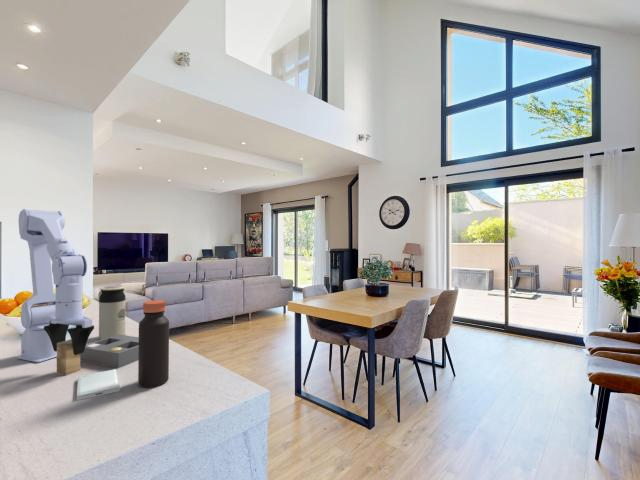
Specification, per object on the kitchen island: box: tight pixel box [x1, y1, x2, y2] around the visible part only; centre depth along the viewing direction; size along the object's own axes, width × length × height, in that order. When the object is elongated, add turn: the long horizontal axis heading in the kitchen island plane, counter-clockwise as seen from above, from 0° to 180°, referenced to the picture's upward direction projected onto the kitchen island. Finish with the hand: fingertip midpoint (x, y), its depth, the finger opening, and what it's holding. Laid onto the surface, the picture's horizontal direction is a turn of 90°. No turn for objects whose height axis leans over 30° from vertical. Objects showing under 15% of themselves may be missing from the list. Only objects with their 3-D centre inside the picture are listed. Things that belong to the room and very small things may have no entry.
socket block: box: [80, 334, 139, 369], centre depth 98 cm, size 16×13×4 cm
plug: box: [56, 338, 81, 376], centre depth 87 cm, size 4×4×8 cm
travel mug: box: [98, 285, 126, 340], centre depth 117 cm, size 8×8×18 cm
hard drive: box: [76, 369, 121, 401], centre depth 79 cm, size 2×8×12 cm
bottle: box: [137, 299, 170, 389], centre depth 81 cm, size 7×7×20 cm
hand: (68, 351), depth 87 cm, fingers open, 7 cm apart
